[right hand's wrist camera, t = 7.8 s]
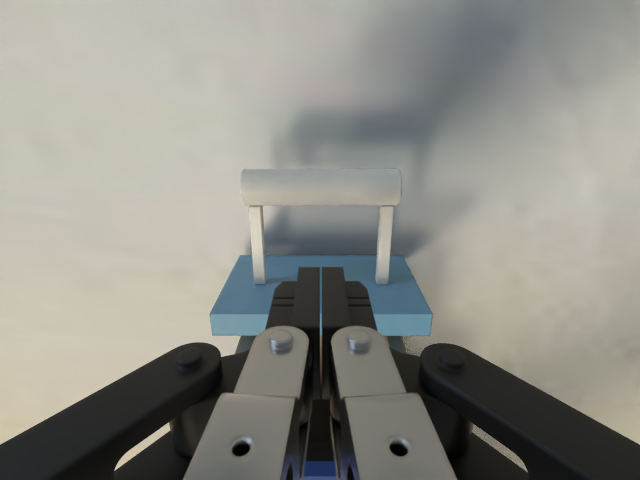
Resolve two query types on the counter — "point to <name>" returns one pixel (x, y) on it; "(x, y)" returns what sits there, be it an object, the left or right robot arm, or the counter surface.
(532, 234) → the counter surface
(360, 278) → the drawer
